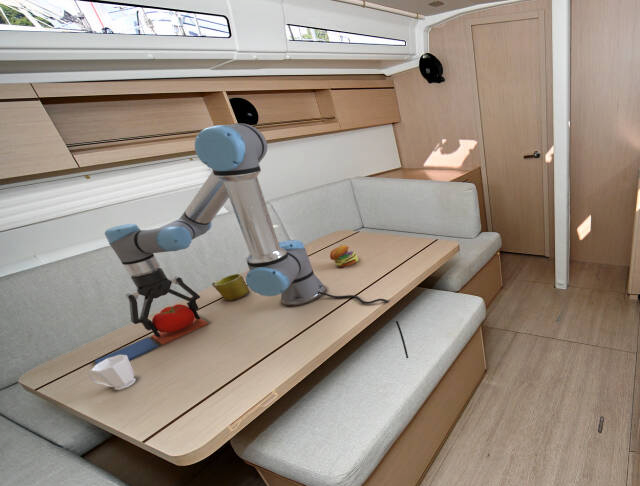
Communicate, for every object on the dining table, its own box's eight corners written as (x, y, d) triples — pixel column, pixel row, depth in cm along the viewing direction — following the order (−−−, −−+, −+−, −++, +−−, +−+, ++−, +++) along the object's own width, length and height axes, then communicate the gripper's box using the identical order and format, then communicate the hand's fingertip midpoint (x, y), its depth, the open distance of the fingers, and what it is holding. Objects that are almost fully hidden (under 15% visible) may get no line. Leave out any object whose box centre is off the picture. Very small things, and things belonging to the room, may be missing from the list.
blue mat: (158, 346, 116) (158, 345, 116) (104, 372, 106) (103, 370, 106) (148, 338, 121) (147, 337, 121) (95, 362, 111) (94, 360, 111)
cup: (130, 390, 98) (113, 368, 94) (88, 398, 96) (70, 376, 93) (148, 373, 104) (133, 351, 100) (109, 380, 102) (93, 358, 99)
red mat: (208, 323, 126) (207, 322, 126) (162, 345, 117) (161, 343, 116) (196, 317, 131) (196, 315, 131) (152, 337, 122) (151, 335, 121)
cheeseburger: (356, 266, 162) (345, 247, 157) (335, 273, 162) (323, 255, 158) (361, 256, 171) (351, 239, 166) (341, 264, 171) (330, 246, 167)
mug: (259, 285, 147) (239, 268, 141) (240, 304, 140) (219, 287, 134) (242, 287, 153) (223, 271, 147) (223, 305, 146) (202, 289, 140)
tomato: (176, 337, 118) (165, 318, 115) (151, 335, 120) (139, 317, 117) (206, 318, 127) (196, 301, 124) (182, 317, 129) (172, 300, 126)
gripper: (184, 255, 124) (211, 307, 134) (92, 285, 107) (131, 343, 116) (193, 259, 121) (220, 312, 130) (98, 290, 103) (138, 349, 113)
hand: (178, 326), depth 123 cm, fingers closed on tomato, 11 cm apart
